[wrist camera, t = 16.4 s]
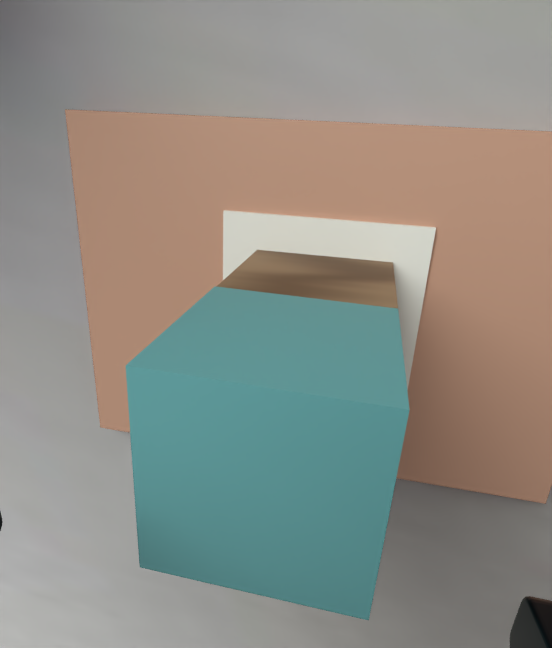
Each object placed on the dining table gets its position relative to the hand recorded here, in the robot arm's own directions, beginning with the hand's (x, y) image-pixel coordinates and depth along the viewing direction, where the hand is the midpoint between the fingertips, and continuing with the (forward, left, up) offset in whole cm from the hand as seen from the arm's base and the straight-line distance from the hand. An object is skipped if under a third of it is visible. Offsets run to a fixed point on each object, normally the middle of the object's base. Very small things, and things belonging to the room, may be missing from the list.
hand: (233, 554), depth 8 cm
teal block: (0, 0, -6) cm, 6 cm away
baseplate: (0, 0, -12) cm, 12 cm away
